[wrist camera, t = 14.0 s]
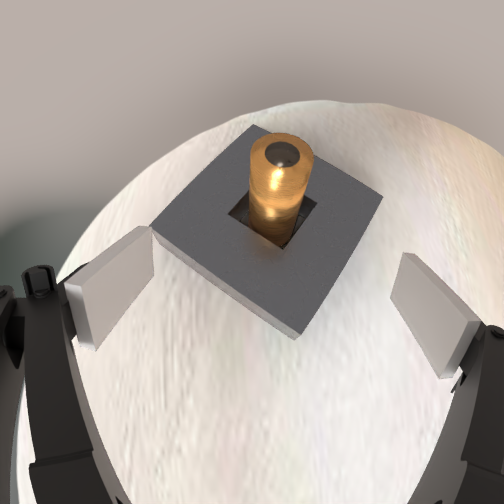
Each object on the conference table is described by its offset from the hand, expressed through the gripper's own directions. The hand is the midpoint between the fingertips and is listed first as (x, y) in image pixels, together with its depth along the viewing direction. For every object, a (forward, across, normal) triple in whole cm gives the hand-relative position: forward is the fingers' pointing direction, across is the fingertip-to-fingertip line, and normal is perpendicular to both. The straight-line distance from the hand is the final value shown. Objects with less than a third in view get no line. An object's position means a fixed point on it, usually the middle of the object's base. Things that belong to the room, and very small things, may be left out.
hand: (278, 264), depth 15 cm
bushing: (+19, 0, -4) cm, 19 cm away
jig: (+19, 0, -4) cm, 19 cm away
